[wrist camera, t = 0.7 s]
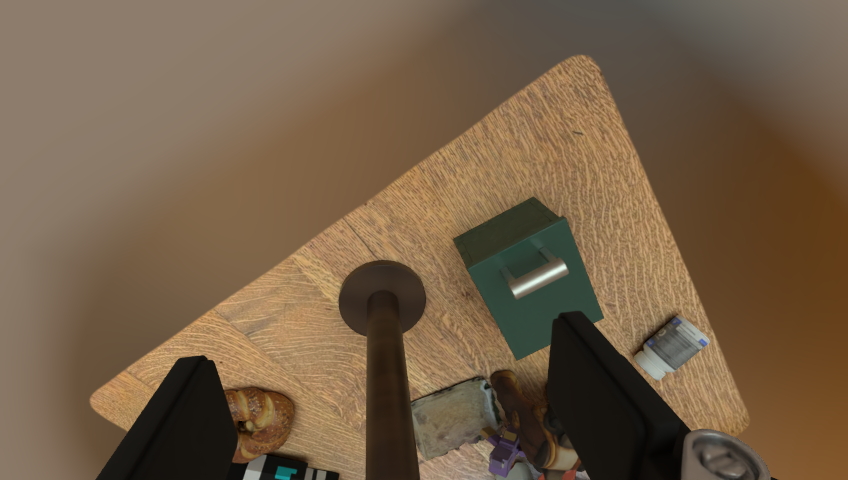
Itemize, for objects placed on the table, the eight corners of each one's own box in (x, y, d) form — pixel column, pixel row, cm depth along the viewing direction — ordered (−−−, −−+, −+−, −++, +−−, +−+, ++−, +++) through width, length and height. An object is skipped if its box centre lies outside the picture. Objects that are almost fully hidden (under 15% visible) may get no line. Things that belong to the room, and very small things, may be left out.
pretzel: (274, 369, 49) (266, 391, 46) (312, 427, 53) (308, 451, 50) (184, 400, 49) (170, 425, 46) (230, 455, 54) (220, 481, 50)
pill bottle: (677, 311, 51) (627, 353, 53) (710, 339, 49) (657, 383, 50) (680, 316, 55) (634, 356, 57) (712, 342, 52) (662, 383, 54)
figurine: (571, 417, 59) (631, 523, 45) (477, 406, 56) (512, 518, 42) (598, 368, 56) (672, 467, 42) (500, 354, 52) (546, 456, 39)
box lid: (465, 265, 37) (478, 293, 33) (562, 215, 36) (589, 236, 32) (514, 356, 43) (531, 390, 38) (600, 314, 42) (628, 344, 37)
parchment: (486, 376, 52) (484, 370, 53) (395, 411, 53) (395, 405, 54) (509, 433, 58) (507, 428, 59) (426, 465, 58) (425, 459, 59)
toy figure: (473, 421, 50) (458, 462, 49) (536, 458, 46) (520, 502, 46) (498, 407, 60) (485, 441, 60) (551, 436, 56) (538, 472, 56)
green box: (452, 238, 45) (468, 271, 38) (533, 196, 44) (565, 222, 37) (494, 314, 50) (514, 356, 43) (567, 277, 49) (600, 314, 42)
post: (337, 260, 44) (294, 529, 19) (426, 259, 45) (499, 508, 20) (341, 334, 48) (309, 637, 23) (422, 330, 49) (479, 613, 24)
